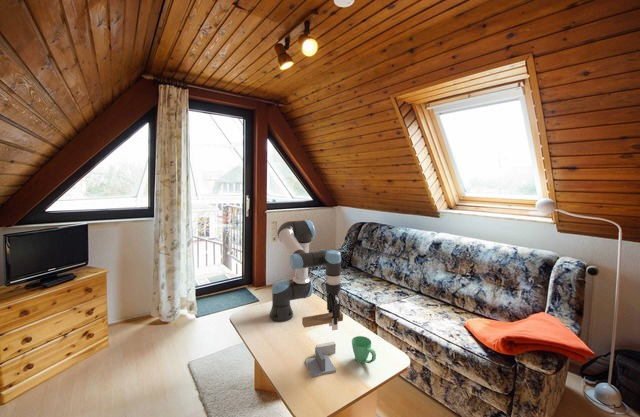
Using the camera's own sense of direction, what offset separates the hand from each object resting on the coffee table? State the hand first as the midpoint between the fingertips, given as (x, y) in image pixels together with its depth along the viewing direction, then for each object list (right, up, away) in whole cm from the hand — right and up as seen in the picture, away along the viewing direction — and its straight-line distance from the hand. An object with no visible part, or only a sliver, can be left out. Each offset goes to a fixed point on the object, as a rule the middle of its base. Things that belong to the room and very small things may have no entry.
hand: (333, 327), depth 144 cm
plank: (-5, +3, -2) cm, 7 cm away
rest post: (-4, -17, +7) cm, 18 cm away
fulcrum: (-7, -18, -3) cm, 19 cm away
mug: (+16, -18, 0) cm, 23 cm away
